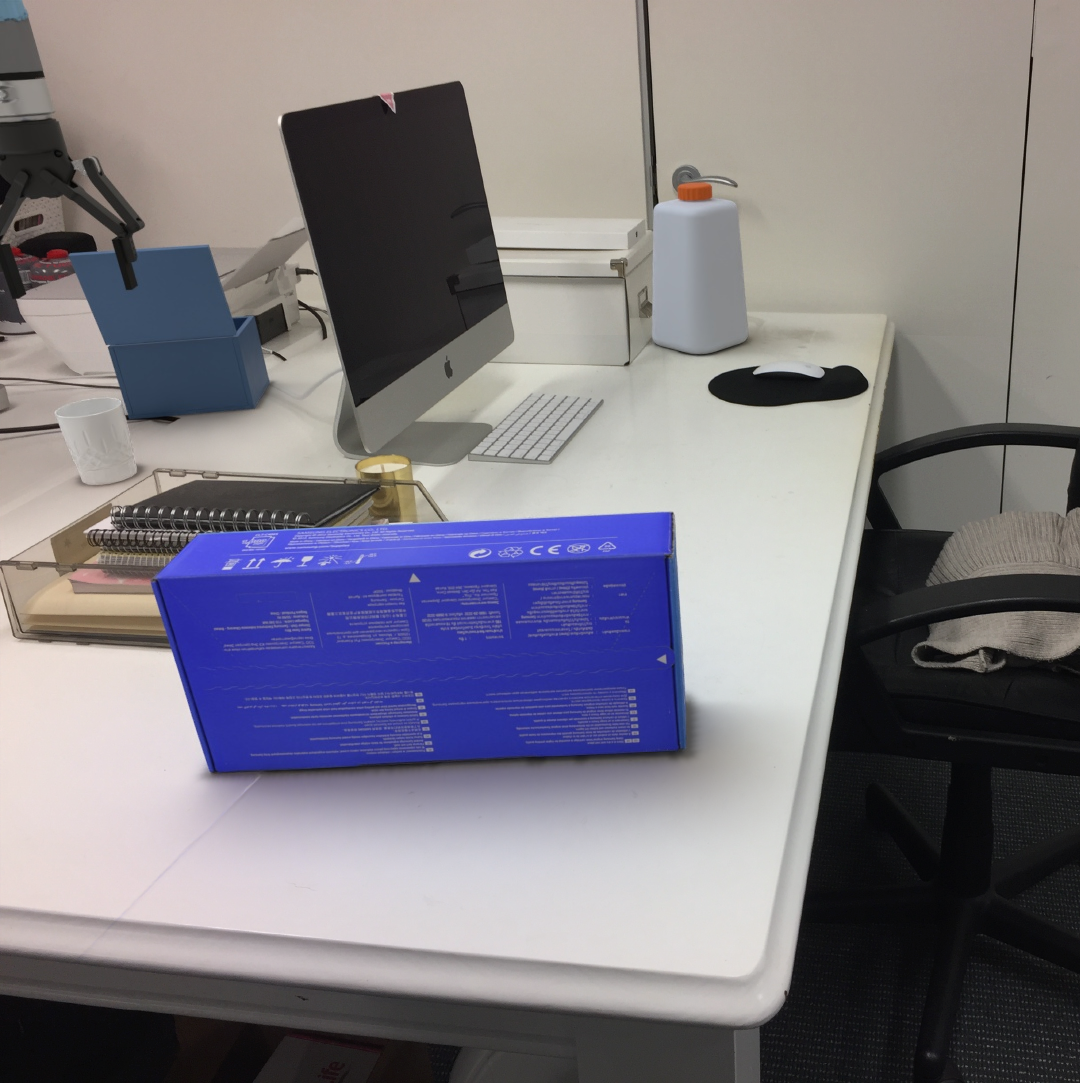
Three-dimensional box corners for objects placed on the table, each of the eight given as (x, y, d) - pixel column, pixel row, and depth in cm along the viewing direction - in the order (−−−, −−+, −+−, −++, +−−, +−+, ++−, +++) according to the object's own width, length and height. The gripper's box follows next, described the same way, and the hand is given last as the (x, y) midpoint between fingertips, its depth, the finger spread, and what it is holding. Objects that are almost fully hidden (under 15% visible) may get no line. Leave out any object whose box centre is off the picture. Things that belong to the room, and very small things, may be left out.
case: (153, 393, 174) (133, 324, 169) (270, 383, 177) (254, 315, 172) (129, 420, 162) (107, 347, 157) (254, 409, 165) (237, 336, 160)
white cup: (141, 480, 140) (120, 410, 135) (75, 492, 137) (51, 421, 133) (143, 461, 146) (122, 393, 142) (80, 472, 143) (57, 403, 139)
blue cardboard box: (686, 696, 92) (677, 508, 84) (686, 756, 84) (676, 556, 76) (246, 714, 91) (192, 526, 83) (206, 776, 84) (143, 576, 76)
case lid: (69, 253, 147) (68, 255, 147) (208, 244, 150) (207, 247, 150) (107, 342, 157) (105, 345, 156) (237, 332, 160) (236, 335, 159)
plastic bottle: (700, 327, 202) (694, 176, 190) (758, 340, 193) (756, 182, 180) (643, 344, 193) (633, 186, 180) (701, 359, 183) (694, 193, 171)
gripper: (-107, 126, 121) (-41, 307, 131) (123, 115, 126) (170, 290, 135) (-78, 121, 128) (-17, 293, 137) (140, 111, 132) (184, 278, 142)
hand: (76, 292), depth 136 cm, fingers open, 13 cm apart
